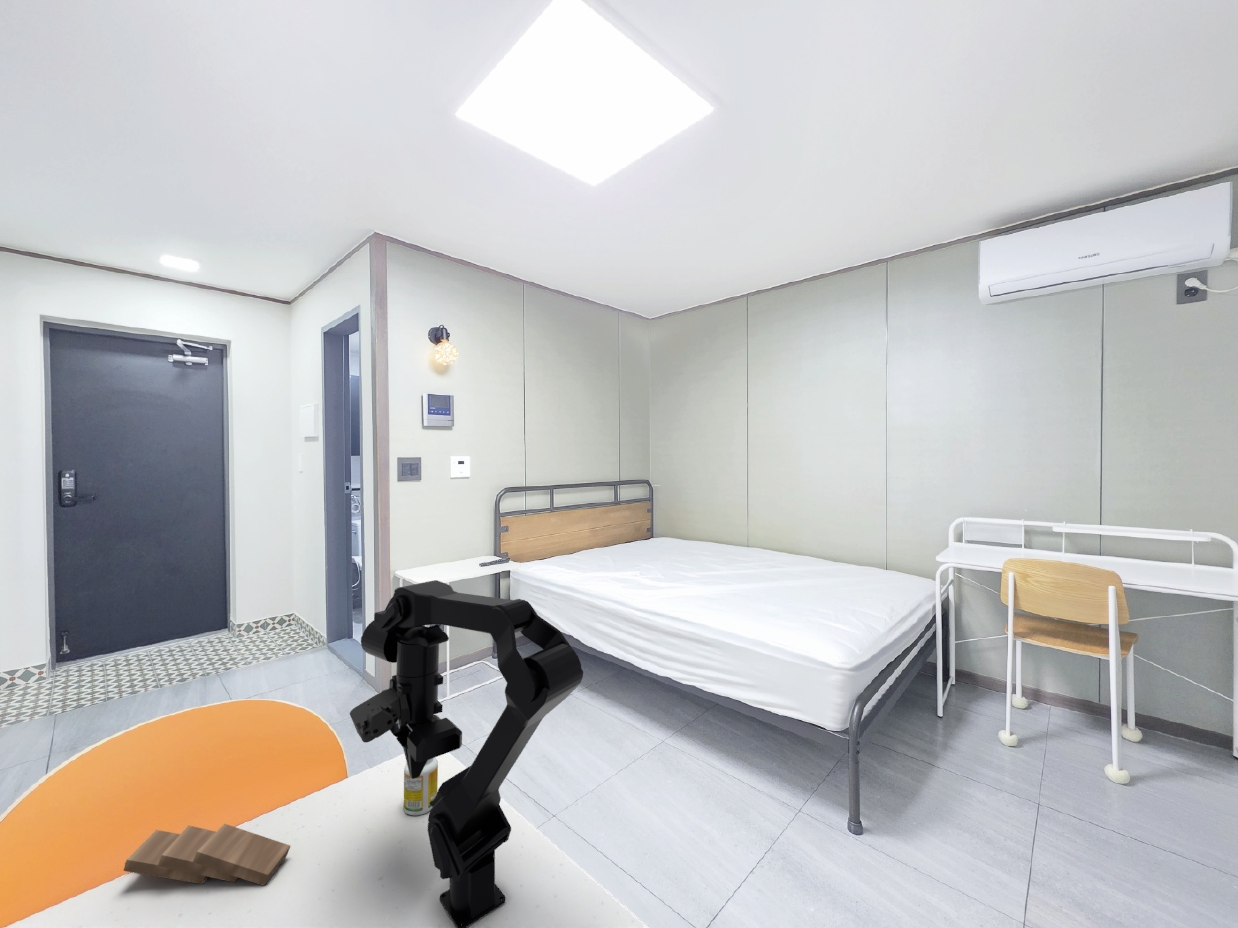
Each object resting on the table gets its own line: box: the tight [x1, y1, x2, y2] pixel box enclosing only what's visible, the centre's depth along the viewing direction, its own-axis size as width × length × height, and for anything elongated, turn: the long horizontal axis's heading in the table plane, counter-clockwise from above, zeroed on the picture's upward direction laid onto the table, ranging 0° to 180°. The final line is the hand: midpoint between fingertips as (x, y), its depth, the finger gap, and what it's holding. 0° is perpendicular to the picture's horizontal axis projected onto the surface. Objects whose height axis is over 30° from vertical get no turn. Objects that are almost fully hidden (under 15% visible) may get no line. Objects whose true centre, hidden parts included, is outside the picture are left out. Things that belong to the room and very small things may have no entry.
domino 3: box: [193, 823, 291, 887], centre depth 70 cm, size 2×5×10 cm
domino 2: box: [158, 825, 239, 883], centre depth 70 cm, size 2×5×10 cm
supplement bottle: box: [403, 757, 439, 817], centre depth 84 cm, size 5×5×10 cm
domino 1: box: [123, 829, 209, 885], centre depth 70 cm, size 2×5×10 cm
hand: (414, 776), depth 72 cm, fingers closed
